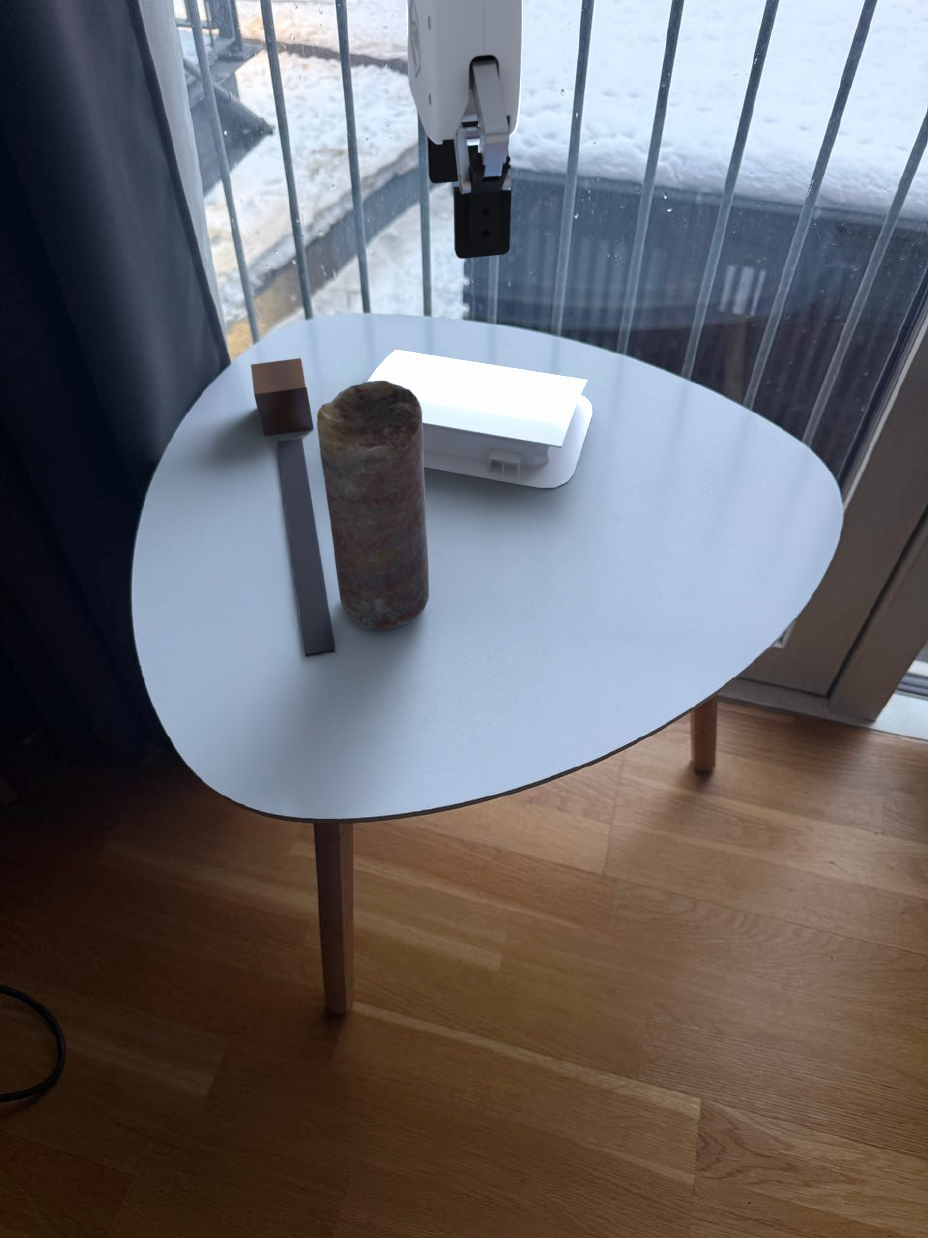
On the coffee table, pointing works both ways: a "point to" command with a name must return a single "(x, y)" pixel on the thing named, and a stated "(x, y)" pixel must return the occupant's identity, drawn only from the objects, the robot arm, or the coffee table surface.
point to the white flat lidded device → (494, 418)
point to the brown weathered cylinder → (376, 501)
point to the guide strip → (305, 550)
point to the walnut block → (281, 396)
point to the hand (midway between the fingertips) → (466, 214)
